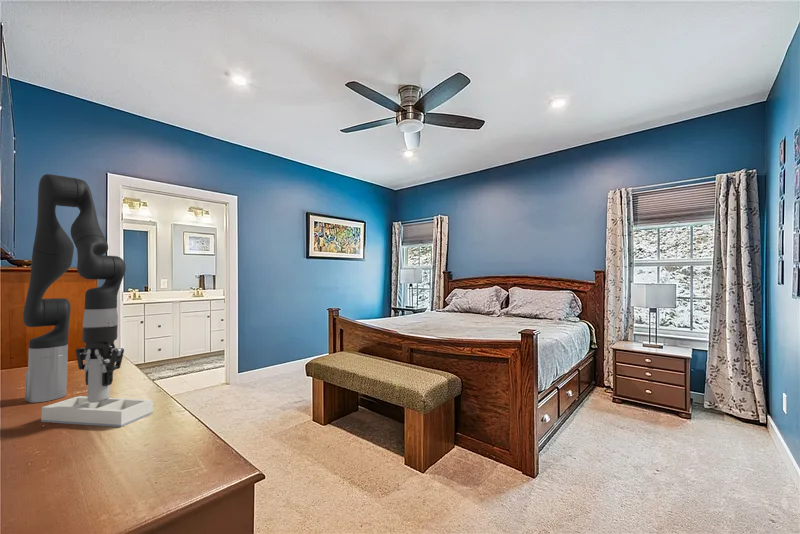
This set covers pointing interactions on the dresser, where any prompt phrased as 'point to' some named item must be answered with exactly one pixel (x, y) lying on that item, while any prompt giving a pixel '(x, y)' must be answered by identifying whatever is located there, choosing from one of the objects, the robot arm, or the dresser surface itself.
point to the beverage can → (96, 382)
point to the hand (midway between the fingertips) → (99, 384)
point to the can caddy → (97, 411)
